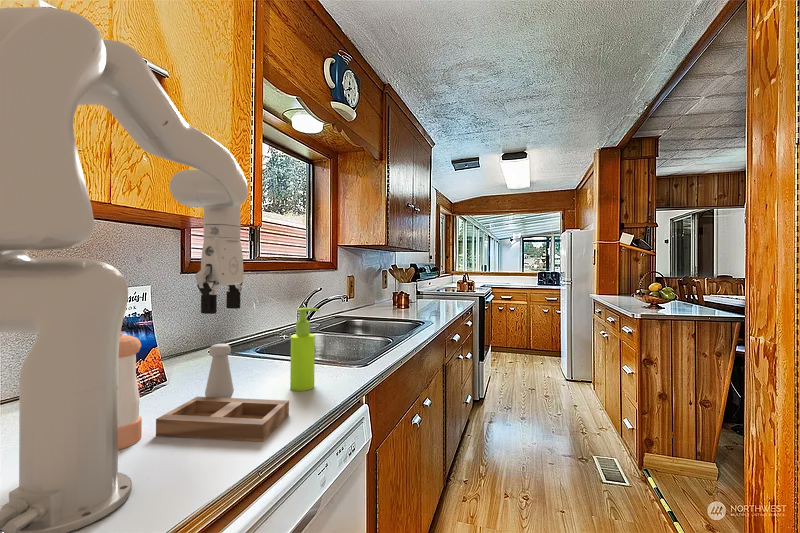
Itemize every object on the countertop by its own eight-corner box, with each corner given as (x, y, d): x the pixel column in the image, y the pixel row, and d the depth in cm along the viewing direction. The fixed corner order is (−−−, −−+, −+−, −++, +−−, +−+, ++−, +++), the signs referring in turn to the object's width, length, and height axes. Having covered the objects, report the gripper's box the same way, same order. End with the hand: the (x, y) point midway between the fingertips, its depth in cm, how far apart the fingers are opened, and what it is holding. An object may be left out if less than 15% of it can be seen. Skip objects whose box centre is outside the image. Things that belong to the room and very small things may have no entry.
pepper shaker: (78, 448, 64) (78, 334, 64) (120, 430, 71) (120, 327, 71) (111, 454, 62) (112, 336, 62) (151, 435, 69) (152, 329, 69)
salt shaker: (222, 408, 83) (222, 348, 83) (198, 406, 84) (199, 346, 84) (238, 399, 88) (239, 342, 88) (216, 397, 90) (217, 341, 89)
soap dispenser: (320, 389, 96) (320, 308, 96) (291, 392, 94) (291, 309, 94) (316, 382, 102) (317, 306, 101) (289, 384, 99) (290, 307, 99)
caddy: (262, 441, 67) (262, 424, 67) (155, 435, 69) (155, 419, 69) (288, 415, 79) (289, 400, 79) (197, 410, 81) (197, 396, 81)
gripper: (215, 231, 77) (215, 316, 77) (256, 237, 95) (256, 307, 95) (180, 231, 78) (180, 315, 78) (227, 237, 95) (227, 306, 95)
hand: (221, 310), depth 86 cm, fingers open, 9 cm apart
